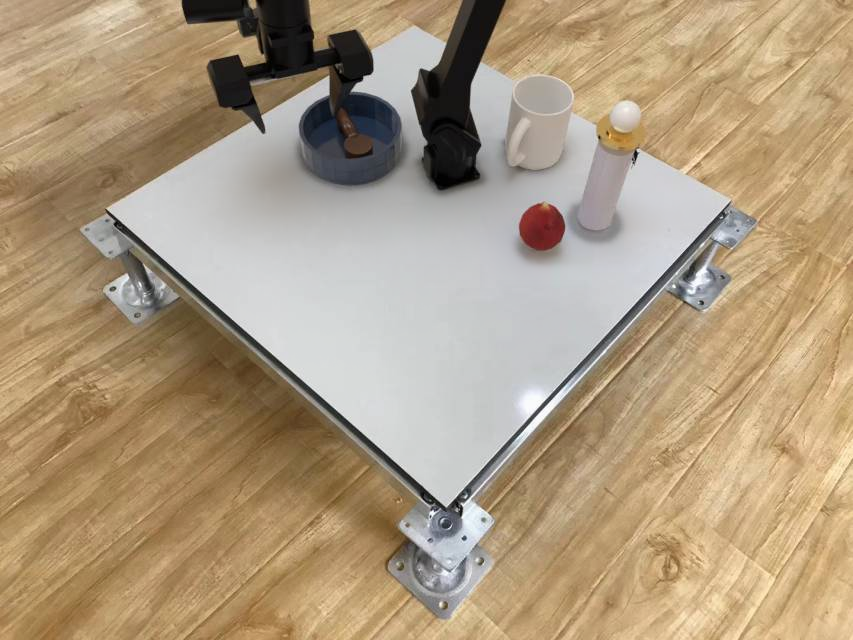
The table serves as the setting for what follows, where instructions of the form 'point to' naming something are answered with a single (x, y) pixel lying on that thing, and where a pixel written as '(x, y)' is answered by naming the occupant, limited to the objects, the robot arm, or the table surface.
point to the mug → (538, 121)
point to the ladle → (353, 137)
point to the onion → (542, 226)
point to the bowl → (327, 142)
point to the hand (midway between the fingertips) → (298, 123)
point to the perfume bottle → (611, 163)
